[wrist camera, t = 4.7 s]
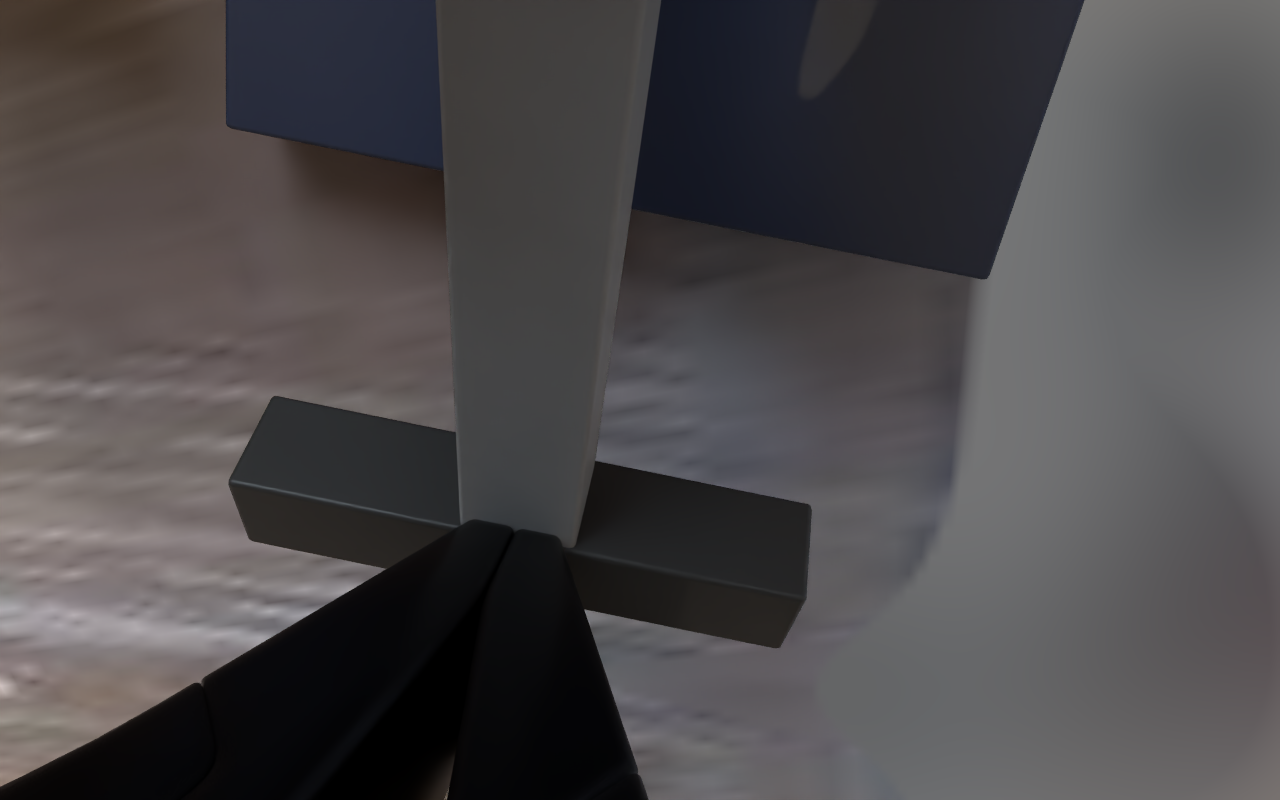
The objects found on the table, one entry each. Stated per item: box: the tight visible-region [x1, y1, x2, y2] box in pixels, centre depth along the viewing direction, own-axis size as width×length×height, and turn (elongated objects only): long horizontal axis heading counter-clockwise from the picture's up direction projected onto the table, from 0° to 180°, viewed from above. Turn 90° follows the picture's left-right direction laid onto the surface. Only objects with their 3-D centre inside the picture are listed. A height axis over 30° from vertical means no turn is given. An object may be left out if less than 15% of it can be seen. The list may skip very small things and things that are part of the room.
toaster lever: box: [229, 0, 812, 648], centre depth 6 cm, size 11×6×2 cm, turn 169°
